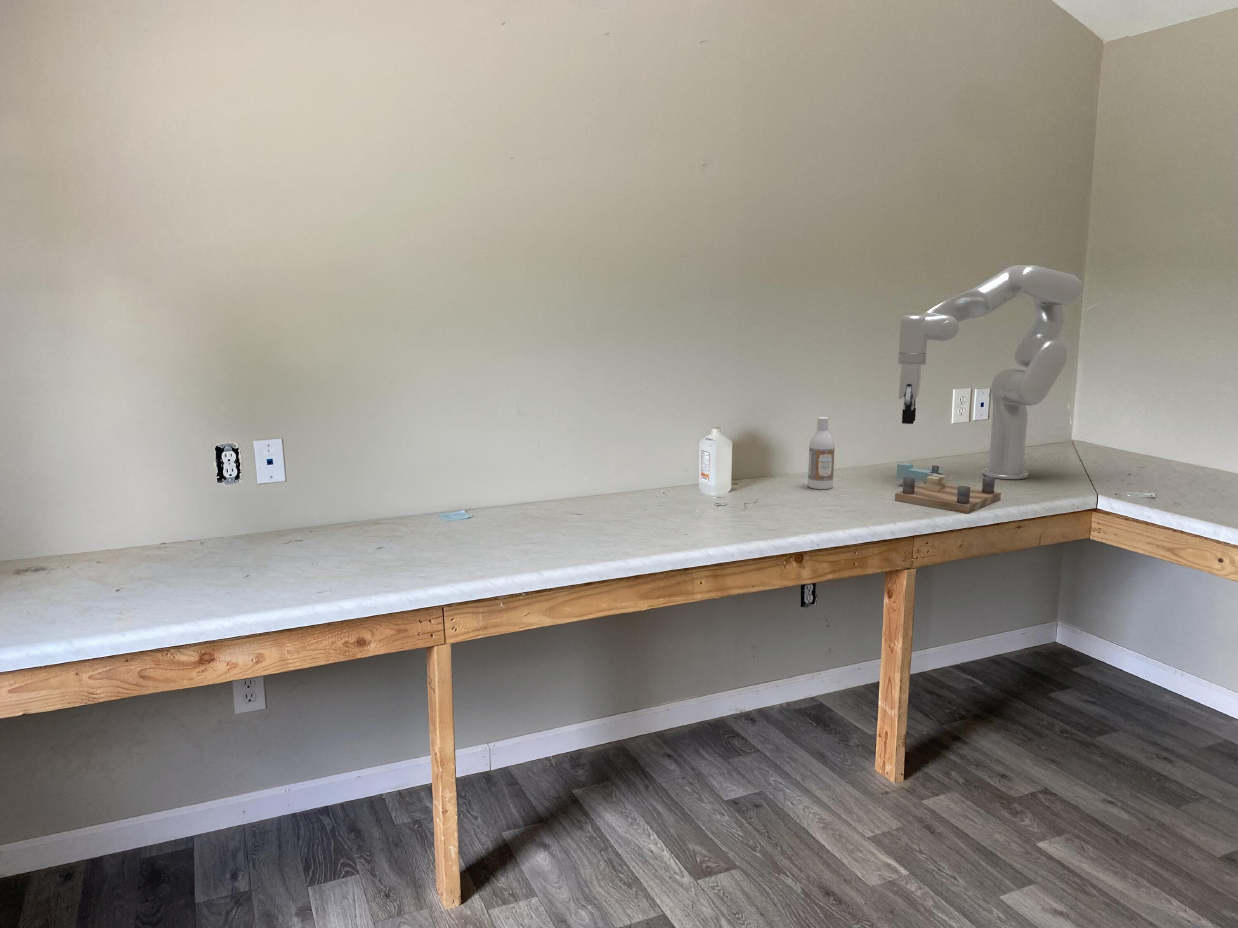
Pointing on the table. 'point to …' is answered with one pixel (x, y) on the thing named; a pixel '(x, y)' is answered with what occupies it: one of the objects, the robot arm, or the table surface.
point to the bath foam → (821, 457)
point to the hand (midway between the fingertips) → (908, 421)
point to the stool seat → (948, 493)
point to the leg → (913, 472)
